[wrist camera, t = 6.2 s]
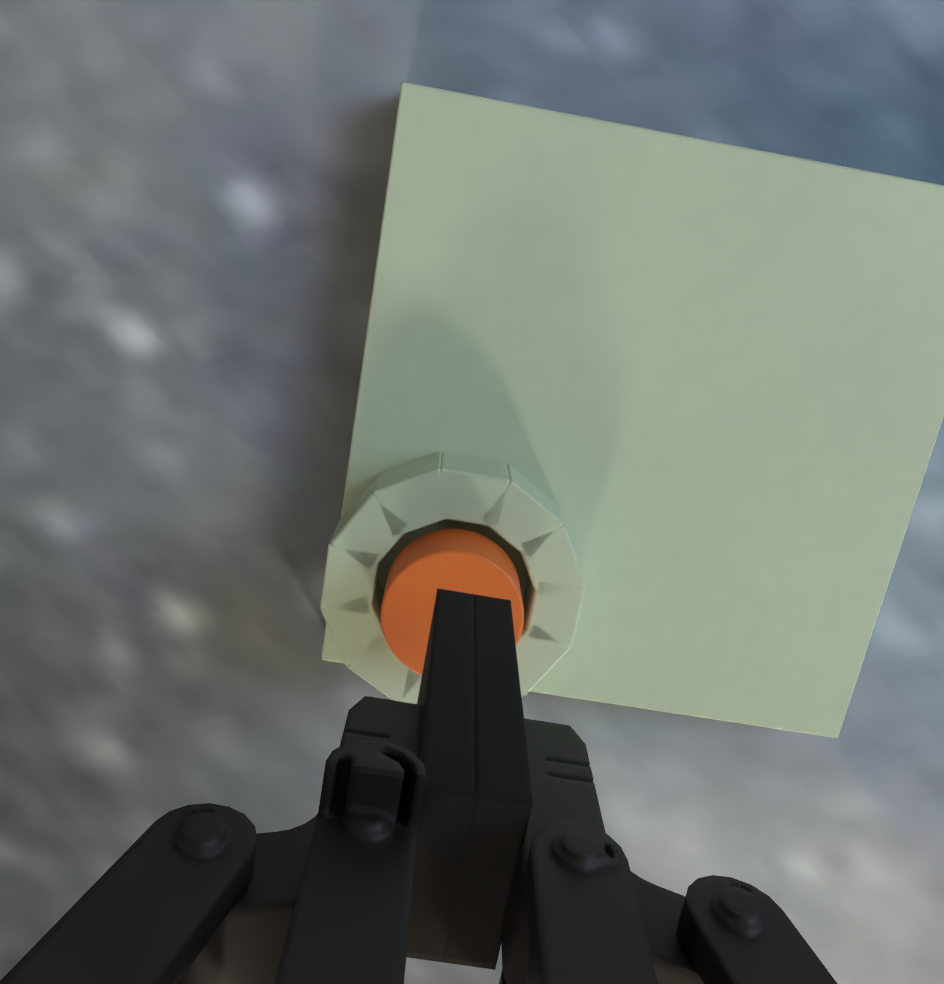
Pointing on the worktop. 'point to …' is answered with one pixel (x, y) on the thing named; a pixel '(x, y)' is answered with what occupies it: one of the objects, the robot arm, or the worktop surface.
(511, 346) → the scale
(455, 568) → the button
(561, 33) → the worktop surface
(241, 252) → the worktop surface
